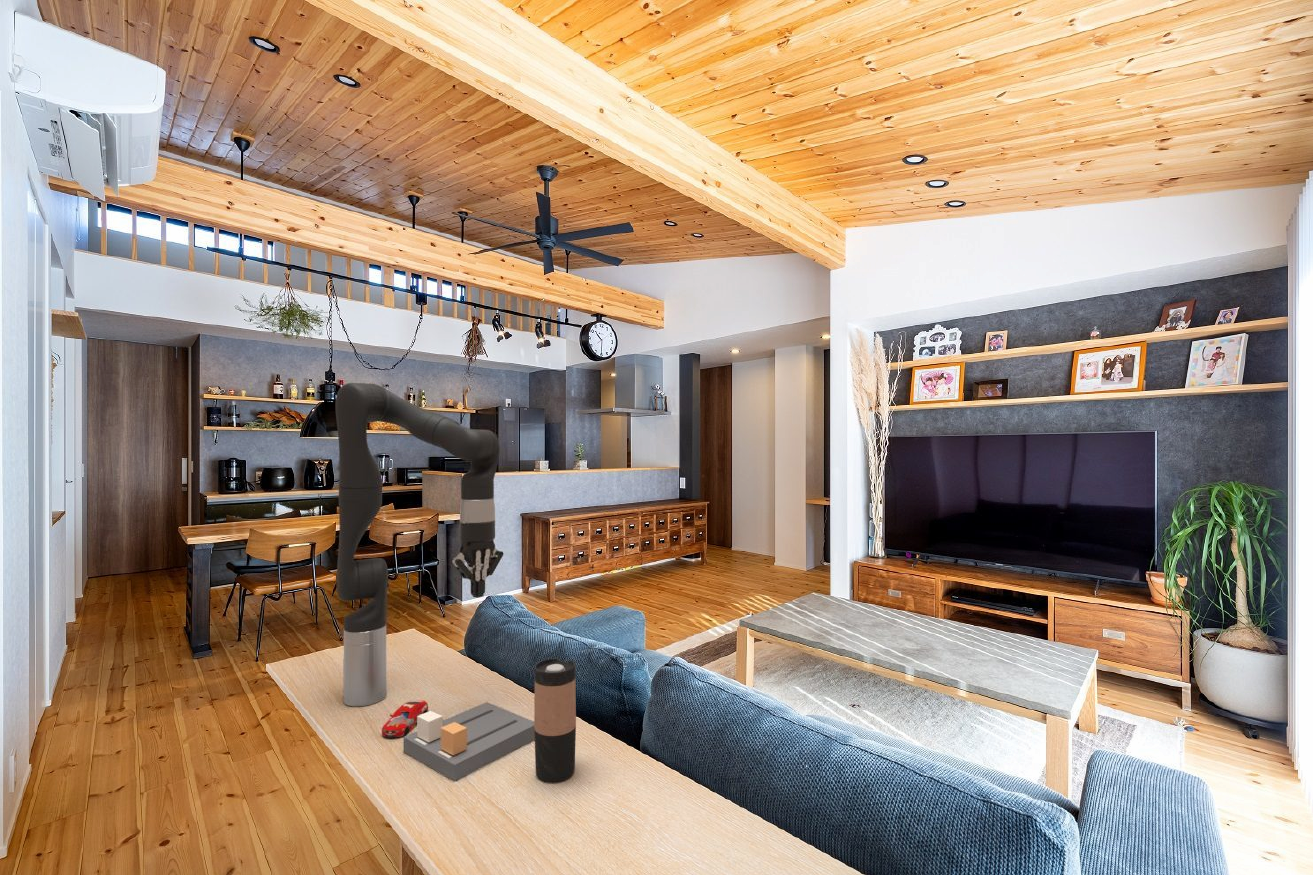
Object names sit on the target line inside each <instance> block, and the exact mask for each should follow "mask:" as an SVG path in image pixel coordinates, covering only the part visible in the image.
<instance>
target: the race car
mask: <svg viewBox="0 0 1313 875" xmlns="http://www.w3.org/2000/svg"><path fill="white" fill-rule="evenodd" d="M426 712H429V705H428V701H426V700H410V701H407V702H405V703H402V704H401V706H399V707H398V708H397V709H396V710H395V711H394V712H393V714H389V717H390V718H389V719H388V720H387V722H386V723H385V724H383V726H382V728H381V734H382V737H384V738H388V739H391V738H392V739H393V738H400V737H405V736H407V735H409V732H411V731H412V730H413V729H414V728H415V727H416V726H417V716H419V715H421V714H424V713H426Z"/></svg>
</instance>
